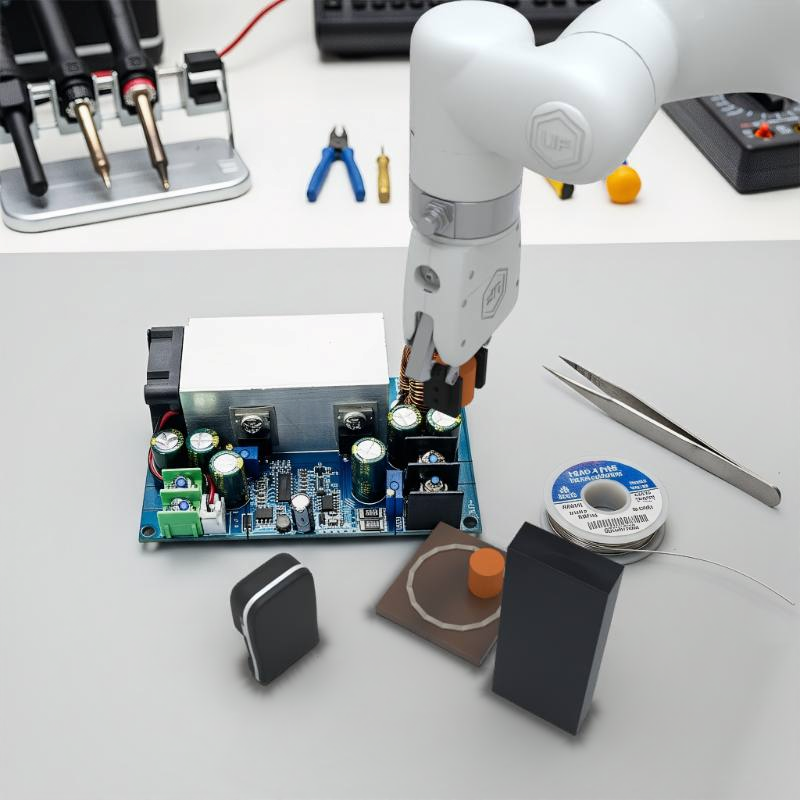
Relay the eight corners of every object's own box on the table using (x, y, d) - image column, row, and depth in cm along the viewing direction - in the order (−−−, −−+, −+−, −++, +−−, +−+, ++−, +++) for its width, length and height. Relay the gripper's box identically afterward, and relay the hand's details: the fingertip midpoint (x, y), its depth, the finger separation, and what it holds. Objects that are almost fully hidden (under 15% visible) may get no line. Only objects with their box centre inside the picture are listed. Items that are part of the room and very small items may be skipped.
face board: (539, 573, 95) (540, 566, 94) (479, 667, 88) (479, 660, 87) (440, 527, 99) (440, 519, 99) (375, 612, 92) (374, 605, 91)
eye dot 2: (508, 580, 93) (510, 557, 91) (492, 604, 92) (494, 581, 89) (478, 565, 95) (480, 542, 92) (461, 589, 93) (463, 566, 90)
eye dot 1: (481, 390, 80) (483, 357, 77) (461, 413, 78) (463, 380, 75) (446, 376, 81) (448, 343, 79) (426, 399, 79) (427, 366, 77)
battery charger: (296, 615, 92) (285, 538, 84) (323, 641, 90) (315, 563, 82) (236, 662, 88) (219, 585, 81) (262, 689, 86) (248, 613, 79)
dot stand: (590, 708, 85) (625, 565, 71) (575, 736, 83) (608, 595, 69) (507, 665, 88) (525, 520, 74) (491, 691, 86) (506, 547, 72)
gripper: (452, 276, 60) (443, 479, 73) (567, 159, 70) (541, 354, 83) (350, 239, 63) (358, 440, 76) (474, 131, 73) (463, 324, 86)
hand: (454, 393), depth 79 cm, fingers closed on eye dot 1, 3 cm apart
